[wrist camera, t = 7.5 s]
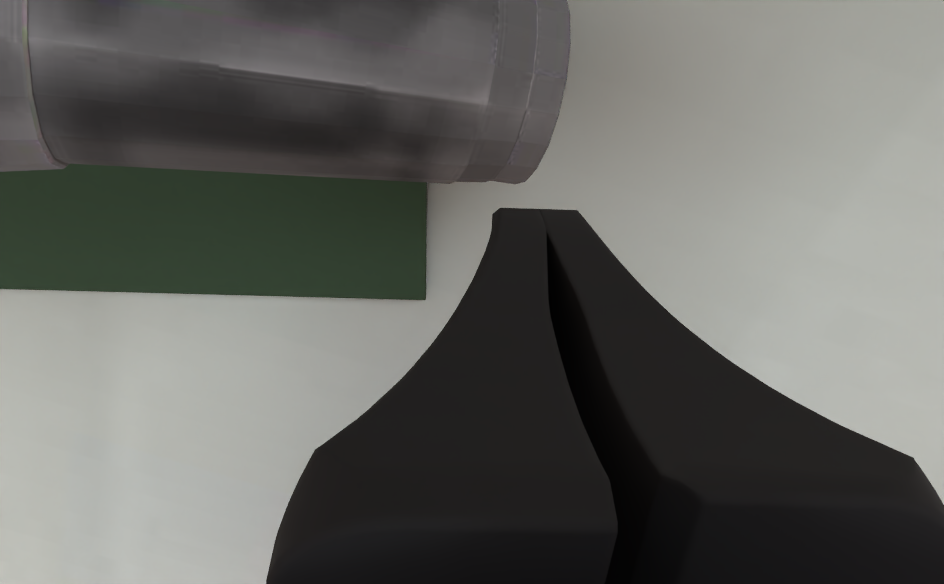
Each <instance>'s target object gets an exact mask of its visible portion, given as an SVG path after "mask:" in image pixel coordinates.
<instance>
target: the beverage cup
mask: <svg viewBox="0 0 944 584" xmlns="http://www.w3.org/2000/svg"><path fill="white" fill-rule="evenodd" d="M569 52H570V13H569V8H568V3H567V0H0V172H6V171H29V170H51V169H64V168H65V167H66V166H68V165H69V164H87V165H106V166H125V167H143V168H162V169H181V170H200V171H219V172H238V173H256V174H275V175H294V176H313V177H332V178H350V179H369V180H388V181H407V182H426V183H444V184H450V183H453V182H455V181H456V182H487V181H496V182H504V183H511V184H518V183H522V182H525V181H526V180H527V179H528V178H529V177H530V176H531V175H532V173H533V172H534V171H535V170H536V169H537V167H538V165H539V163H540V161H541V159H542V157H543V155H544V154H545V152H546V150H547V148H548V146H549V143H550V140H551V137H552V134H553V131H554V128H555V125H556V122H557V119H558V116H559V112H560V107H561V103H562V98H563V93H564V89H565V84H566V80H567V71H568V61H569Z"/></svg>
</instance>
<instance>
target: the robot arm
mask: <svg viewBox="0 0 944 584" xmlns="http://www.w3.org/2000/svg"><path fill="white" fill-rule="evenodd" d="M266 584H944V505H943V503H942V501H941V500H940V498H939V496H938V494H937V493H936V491H935V489H934V488H933V486H932V485H931V483H930V482H929V480H928V479H927V477H926V476H925V474H924V473H923V471H922V470H921V468H920V467H919V465H918V464H917V463H916V461H915V460H914V458H913V457H910V456H908V455H906V454H904V453H901V452H899V451H897V450H895V449H892V448H890V447H888V446H886V445H883V444H881V443H879V442H877V441H874V440H872V439H870V438H868V437H865V436H863V435H861V434H859V433H856V432H854V431H852V430H850V429H847V428H845V427H843V426H841V425H839V424H837V423H835V422H833V421H831V420H829V419H827V418H825V417H823V416H821V415H819V414H817V413H816V412H814V411H812V410H810V409H808V408H806V407H804V406H802V405H800V404H799V403H797V402H795V401H793V400H791V399H790V398H788V397H786V396H784V395H783V394H781V393H779V392H778V391H776V390H774V389H772V388H771V387H769V386H767V385H766V384H764V383H763V382H761V381H760V380H758V379H757V378H755V377H754V376H752V375H750V374H749V373H747V372H746V371H744V370H743V369H741V368H740V367H738V366H737V365H735V364H734V363H732V362H731V361H729V360H728V359H727V358H725V357H724V356H722V355H721V354H719V353H718V352H717V351H715V350H714V349H713V348H712V347H710V346H709V345H708V344H706V343H705V342H704V341H703V340H701V339H700V338H699V337H698V336H696V335H695V334H694V333H692V332H691V331H690V330H689V329H687V328H686V327H685V326H684V325H683V324H681V323H680V322H679V321H678V320H677V319H676V318H675V317H673V316H672V315H671V314H670V313H669V312H668V311H667V310H666V309H665V308H664V307H663V306H662V305H661V304H660V303H659V302H657V301H656V300H655V299H654V298H653V297H652V296H651V295H650V294H649V293H648V292H647V291H646V290H645V289H644V288H643V287H642V286H641V285H640V284H639V283H638V281H637V280H636V279H635V278H634V277H633V276H632V275H631V274H630V273H629V272H628V270H627V269H626V268H625V267H624V266H623V265H622V264H621V263H620V261H619V260H618V259H617V258H616V257H615V256H614V254H613V253H612V252H611V251H610V250H609V248H608V247H607V246H606V245H605V244H604V242H603V241H602V240H601V239H600V237H599V236H598V235H597V234H596V232H595V231H594V230H593V229H592V227H591V226H590V225H589V224H588V223H587V221H586V220H585V219H584V218H583V216H582V215H581V214H580V213H579V212H578V211H577V210H552V209H519V208H500V209H498V210H497V211H496V212H495V213H493V216H492V231H491V235H490V239H489V242H488V245H487V248H486V251H485V253H484V256H483V258H482V260H481V262H480V265H479V267H478V269H477V272H476V274H475V276H474V278H473V280H472V282H471V284H470V286H469V287H468V289H467V291H466V293H465V294H464V296H463V298H462V300H461V302H460V303H459V305H458V307H457V309H456V310H455V312H454V313H453V315H452V316H451V318H450V319H449V321H448V322H447V324H446V325H445V327H444V328H443V330H442V331H441V332H440V334H439V335H438V336H437V338H436V339H435V340H434V342H433V343H432V344H431V346H430V347H429V348H428V349H427V350H426V352H425V353H424V354H423V355H422V356H421V357H420V359H419V360H418V361H417V362H416V363H415V365H414V366H413V367H412V368H411V369H410V370H409V371H408V372H407V373H406V375H405V376H404V377H403V378H402V379H401V380H400V381H399V382H398V383H397V384H396V385H394V386H393V387H392V388H391V389H390V390H389V391H388V392H387V393H386V394H385V395H384V396H383V397H382V398H380V399H379V400H378V401H377V402H376V403H375V404H374V405H373V406H372V407H371V408H370V409H369V410H367V411H366V412H365V413H364V414H363V415H361V416H360V417H359V418H358V419H357V420H355V421H354V422H352V423H351V424H350V425H348V426H347V427H346V428H344V429H343V430H342V431H340V432H339V433H338V434H336V435H335V436H334V437H332V438H331V439H330V440H328V441H327V442H326V443H324V444H323V445H321V446H320V447H318V448H317V449H315V451H314V453H313V454H312V456H311V458H310V460H309V462H308V464H307V466H306V468H305V469H304V471H303V473H302V475H301V477H300V479H299V481H298V483H297V486H296V488H295V490H294V492H293V494H292V496H291V498H290V501H289V503H288V506H287V508H286V511H285V513H284V516H283V519H282V522H281V524H280V527H279V530H278V533H277V536H276V540H275V544H274V549H273V553H272V558H271V562H270V567H269V571H268V576H267V580H266Z"/></svg>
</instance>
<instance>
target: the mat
mask: <svg viewBox="0 0 944 584" xmlns="http://www.w3.org/2000/svg"><path fill="white" fill-rule="evenodd" d="M426 205H427V183H426V182H407V181H388V180H369V179H350V178H332V177H313V176H294V175H275V174H256V173H238V172H219V171H200V170H181V169H162V168H143V167H125V166H106V165H87V164H69V165H68V166H66V167H65V168H64V169H51V170H29V171H6V172H0V289H28V290H66V291H104V292H142V293H180V294H217V295H255V296H293V297H331V298H368V299H406V300H425V299H426Z"/></svg>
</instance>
